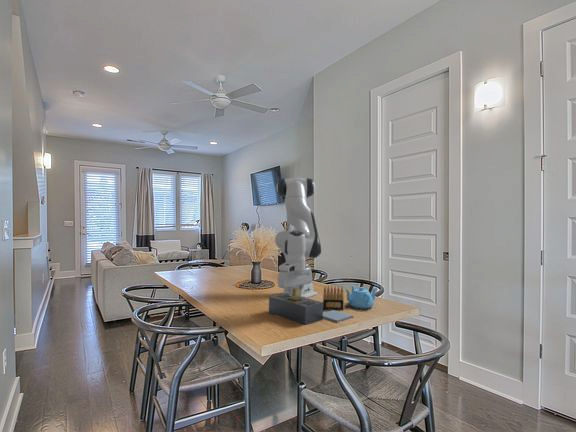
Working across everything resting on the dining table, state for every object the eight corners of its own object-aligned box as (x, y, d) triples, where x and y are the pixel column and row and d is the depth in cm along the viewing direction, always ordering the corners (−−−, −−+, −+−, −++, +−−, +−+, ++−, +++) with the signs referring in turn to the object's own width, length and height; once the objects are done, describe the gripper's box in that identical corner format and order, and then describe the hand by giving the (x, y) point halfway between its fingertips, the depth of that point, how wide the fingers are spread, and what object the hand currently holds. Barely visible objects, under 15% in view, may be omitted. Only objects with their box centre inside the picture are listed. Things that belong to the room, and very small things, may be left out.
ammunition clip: (322, 309, 166) (323, 286, 166) (322, 308, 167) (323, 285, 168) (343, 310, 166) (344, 286, 166) (343, 309, 168) (343, 285, 168)
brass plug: (295, 304, 156) (295, 287, 156) (301, 305, 153) (301, 289, 153) (289, 305, 153) (289, 288, 153) (295, 307, 150) (295, 290, 150)
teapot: (370, 311, 164) (371, 291, 164) (342, 307, 171) (342, 287, 171) (377, 305, 177) (377, 286, 177) (350, 301, 184) (351, 283, 184)
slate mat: (332, 312, 162) (332, 309, 162) (353, 317, 153) (353, 315, 153) (317, 316, 153) (317, 314, 153) (337, 322, 145) (337, 320, 145)
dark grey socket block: (286, 308, 165) (286, 292, 166) (322, 319, 148) (323, 302, 148) (268, 313, 157) (269, 296, 157) (304, 325, 140) (305, 306, 140)
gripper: (306, 263, 163) (305, 290, 163) (275, 266, 148) (275, 296, 148) (315, 264, 158) (314, 293, 158) (285, 268, 144) (284, 299, 144)
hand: (295, 295), depth 153 cm, fingers closed on brass plug, 4 cm apart
